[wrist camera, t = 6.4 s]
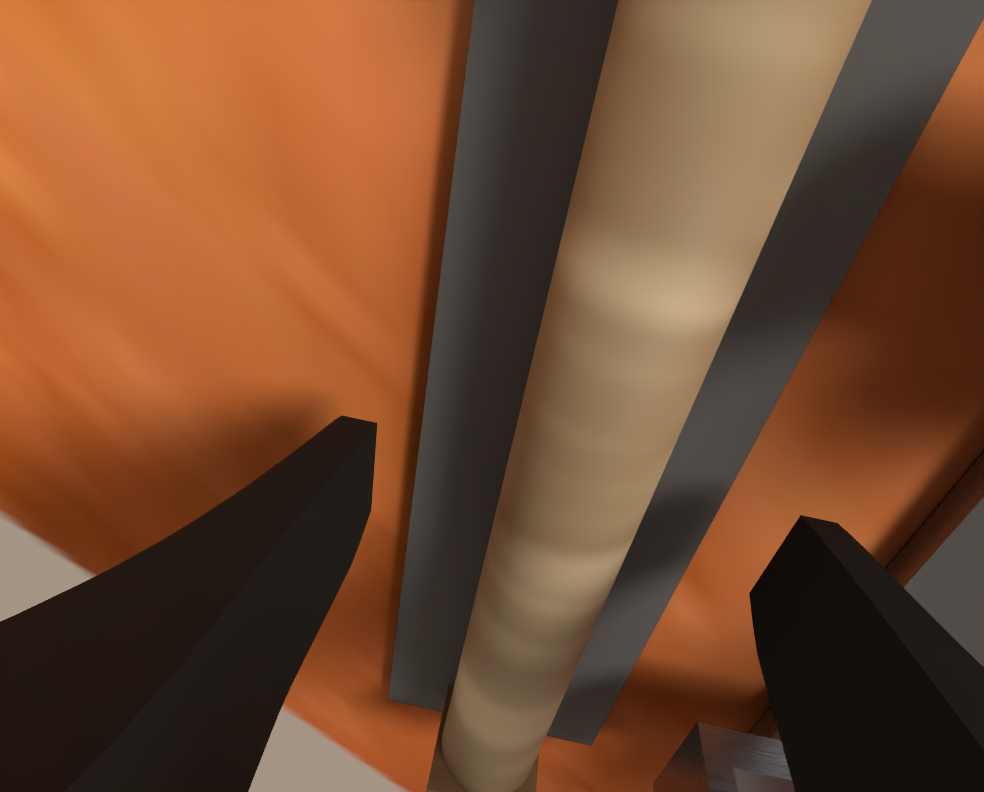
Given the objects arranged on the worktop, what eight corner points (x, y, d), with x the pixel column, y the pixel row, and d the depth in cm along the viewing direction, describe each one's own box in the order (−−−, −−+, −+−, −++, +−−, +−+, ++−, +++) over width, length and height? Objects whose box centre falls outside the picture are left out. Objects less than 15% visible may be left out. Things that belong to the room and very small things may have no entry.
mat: (1105, -249, 6) (1136, -267, 5) (590, 731, 17) (590, 745, 16) (524, -359, 6) (521, -382, 6) (391, 686, 17) (387, 699, 17)
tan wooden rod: (667, -268, 6) (717, -444, 4) (919, -220, 6) (1119, -367, 4) (445, 699, 16) (423, 803, 14) (535, 720, 16) (527, 828, 14)
